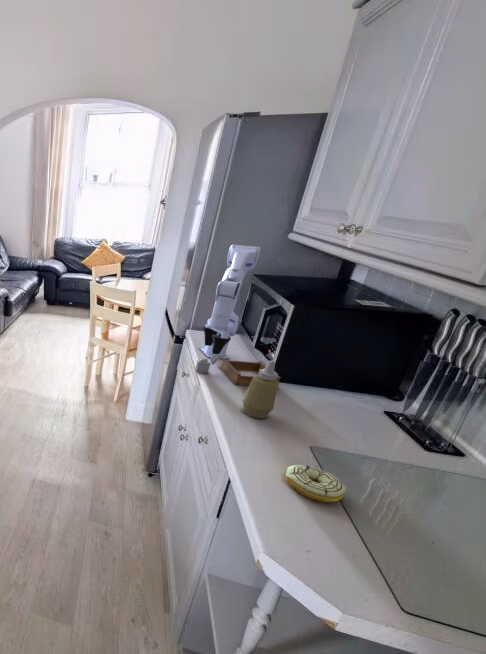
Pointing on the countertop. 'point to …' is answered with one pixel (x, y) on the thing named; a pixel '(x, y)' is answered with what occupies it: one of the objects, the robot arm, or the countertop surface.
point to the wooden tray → (233, 366)
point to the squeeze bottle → (261, 392)
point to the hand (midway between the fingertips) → (211, 349)
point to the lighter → (206, 364)
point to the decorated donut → (315, 483)
